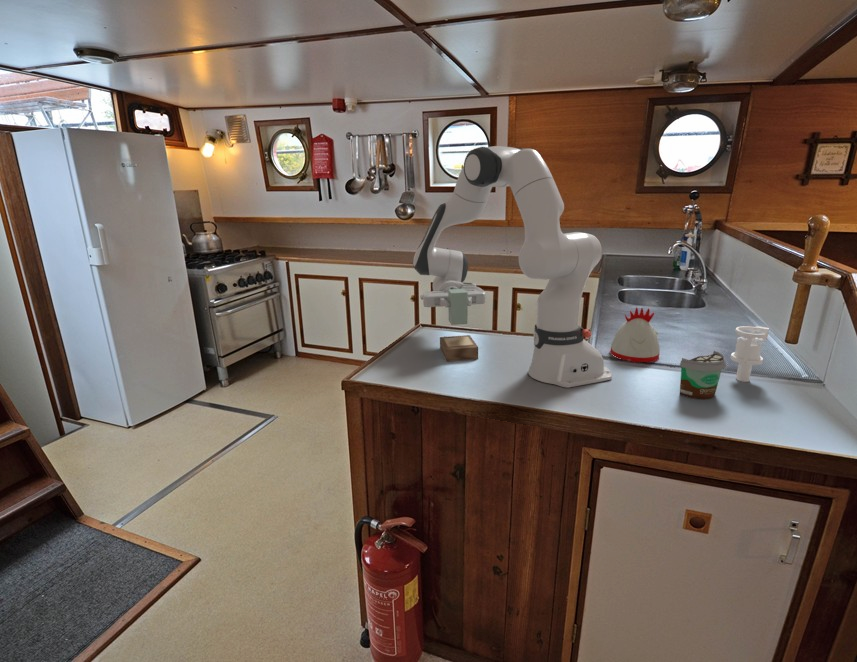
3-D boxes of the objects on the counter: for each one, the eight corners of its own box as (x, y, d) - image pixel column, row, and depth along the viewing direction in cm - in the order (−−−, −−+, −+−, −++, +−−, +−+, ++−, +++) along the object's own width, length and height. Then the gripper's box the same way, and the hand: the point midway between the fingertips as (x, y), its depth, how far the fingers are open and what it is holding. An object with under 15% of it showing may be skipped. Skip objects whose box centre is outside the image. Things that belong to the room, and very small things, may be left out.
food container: (697, 405, 114) (703, 366, 111) (675, 395, 120) (680, 358, 117) (732, 395, 119) (739, 358, 116) (709, 386, 124) (715, 350, 121)
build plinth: (469, 346, 158) (469, 334, 157) (478, 359, 147) (478, 346, 146) (439, 348, 157) (439, 336, 156) (446, 361, 146) (446, 348, 145)
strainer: (757, 387, 123) (768, 331, 118) (725, 380, 127) (735, 327, 123) (759, 378, 128) (770, 324, 124) (729, 372, 132) (738, 320, 128)
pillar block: (464, 319, 152) (464, 288, 149) (467, 323, 147) (467, 292, 144) (448, 320, 151) (448, 289, 148) (451, 324, 146) (451, 293, 143)
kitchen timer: (664, 364, 140) (670, 314, 135) (614, 361, 142) (619, 313, 138) (652, 348, 153) (658, 302, 148) (607, 346, 155) (611, 301, 151)
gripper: (419, 286, 157) (424, 296, 144) (479, 283, 160) (490, 292, 147) (419, 304, 159) (425, 316, 146) (479, 301, 162) (490, 312, 149)
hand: (458, 304), depth 146 cm, fingers closed on pillar block, 5 cm apart
